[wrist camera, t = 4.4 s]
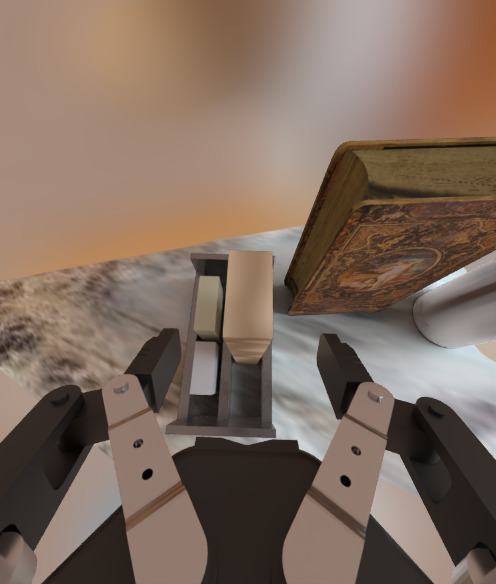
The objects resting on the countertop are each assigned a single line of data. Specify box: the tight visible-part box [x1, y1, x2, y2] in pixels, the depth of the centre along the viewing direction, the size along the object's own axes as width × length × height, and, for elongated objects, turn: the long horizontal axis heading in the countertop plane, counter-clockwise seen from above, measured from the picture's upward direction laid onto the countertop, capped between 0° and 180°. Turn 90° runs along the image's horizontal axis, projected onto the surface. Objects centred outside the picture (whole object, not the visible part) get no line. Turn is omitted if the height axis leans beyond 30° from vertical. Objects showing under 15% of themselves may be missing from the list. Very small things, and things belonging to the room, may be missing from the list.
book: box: [284, 137, 496, 316], centre depth 27 cm, size 16×6×25 cm, turn 93°
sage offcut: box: [193, 276, 225, 343], centre depth 33 cm, size 2×7×9 cm, turn 178°
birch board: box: [223, 250, 273, 364], centre depth 25 cm, size 3×6×22 cm, turn 178°
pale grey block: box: [190, 341, 221, 395], centre depth 31 cm, size 2×6×7 cm, turn 178°
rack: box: [165, 253, 276, 438], centre depth 32 cm, size 12×22×8 cm, turn 178°
